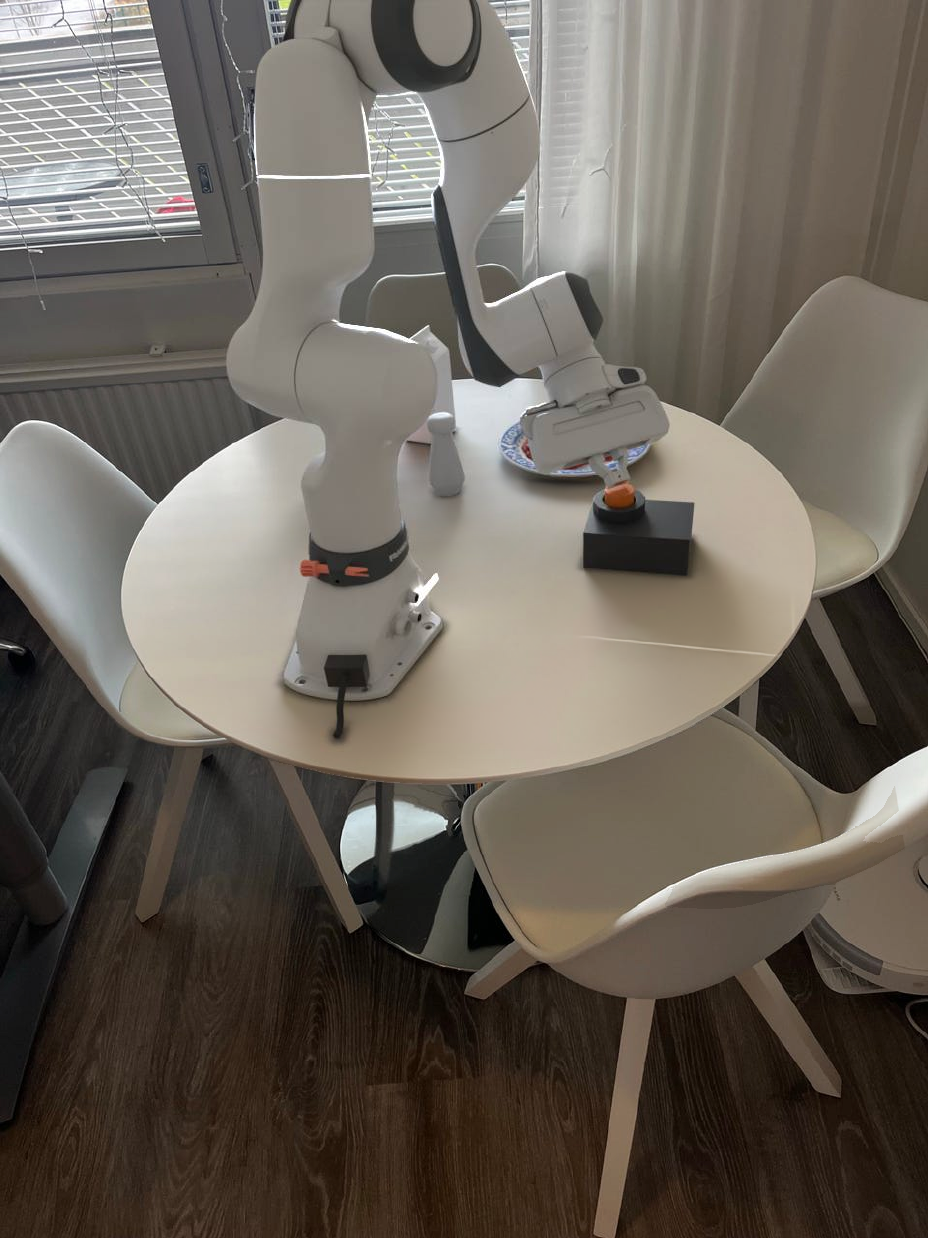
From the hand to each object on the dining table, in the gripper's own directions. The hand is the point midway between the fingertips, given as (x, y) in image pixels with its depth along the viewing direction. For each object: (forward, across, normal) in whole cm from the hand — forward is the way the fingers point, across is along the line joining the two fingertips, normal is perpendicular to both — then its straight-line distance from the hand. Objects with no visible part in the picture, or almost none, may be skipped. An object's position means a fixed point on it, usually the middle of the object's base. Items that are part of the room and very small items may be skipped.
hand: (619, 484), depth 119 cm
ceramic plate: (-14, +10, +28) cm, 33 cm away
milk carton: (-28, -8, +42) cm, 51 cm away
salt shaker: (-13, -14, +27) cm, 33 cm away
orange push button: (+2, 0, +2) cm, 3 cm away
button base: (+9, +1, +5) cm, 10 cm away
